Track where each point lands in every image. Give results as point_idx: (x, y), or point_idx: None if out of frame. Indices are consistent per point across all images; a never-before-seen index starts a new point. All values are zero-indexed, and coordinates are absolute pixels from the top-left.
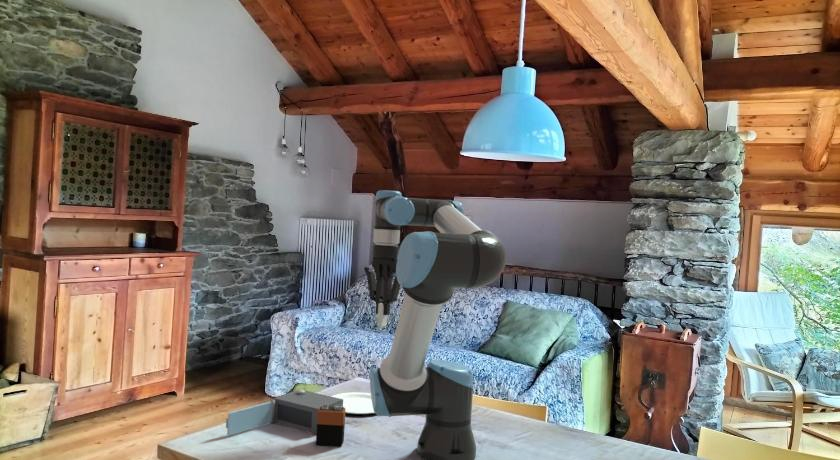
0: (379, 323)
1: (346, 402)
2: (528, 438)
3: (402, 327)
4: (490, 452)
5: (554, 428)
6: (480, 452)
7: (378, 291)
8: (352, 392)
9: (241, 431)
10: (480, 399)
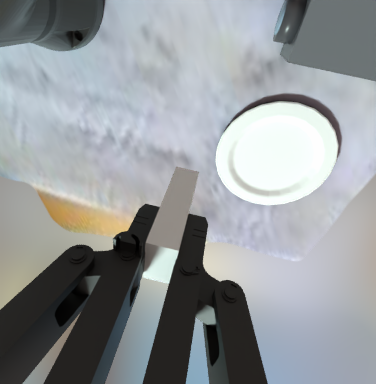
0: (185, 177)
1: (296, 161)
2: (7, 120)
3: None
4: None
5: (6, 167)
6: None
7: (165, 340)
8: (295, 199)
9: None
10: None
